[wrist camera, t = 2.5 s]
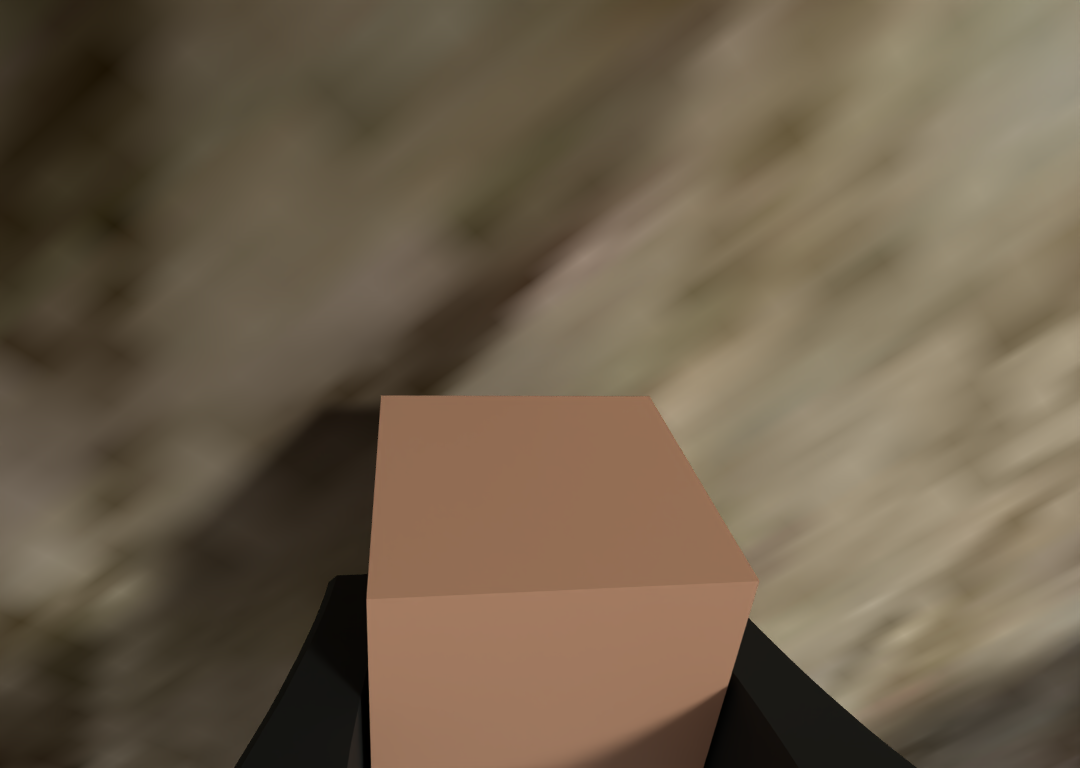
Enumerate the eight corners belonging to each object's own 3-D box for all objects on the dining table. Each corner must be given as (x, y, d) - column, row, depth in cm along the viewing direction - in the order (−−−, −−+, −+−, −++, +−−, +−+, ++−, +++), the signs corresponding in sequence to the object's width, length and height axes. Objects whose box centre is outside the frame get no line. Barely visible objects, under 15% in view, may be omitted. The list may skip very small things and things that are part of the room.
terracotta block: (649, 396, 11) (760, 581, 8) (599, 671, 14) (663, 900, 10) (381, 395, 10) (366, 599, 7) (385, 686, 13) (375, 937, 10)
